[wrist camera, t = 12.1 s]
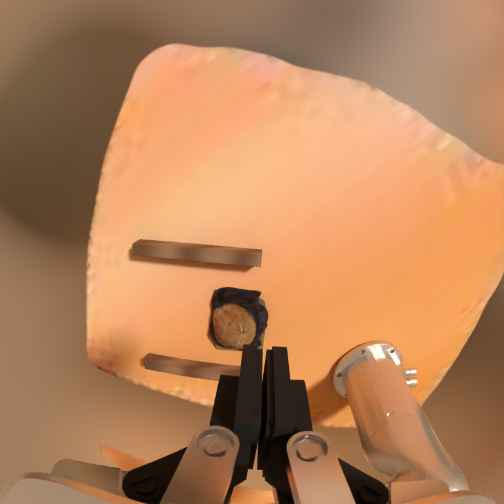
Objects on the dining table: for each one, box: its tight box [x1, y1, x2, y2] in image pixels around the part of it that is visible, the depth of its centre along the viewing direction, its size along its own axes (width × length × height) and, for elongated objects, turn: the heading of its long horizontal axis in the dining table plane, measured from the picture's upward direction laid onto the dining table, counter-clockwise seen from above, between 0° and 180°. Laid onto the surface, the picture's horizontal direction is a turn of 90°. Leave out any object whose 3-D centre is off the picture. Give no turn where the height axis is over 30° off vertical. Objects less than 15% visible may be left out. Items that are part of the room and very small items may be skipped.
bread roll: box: [209, 287, 268, 351], centre depth 39 cm, size 11×8×4 cm
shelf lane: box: [133, 239, 262, 381], centre depth 39 cm, size 17×21×2 cm
